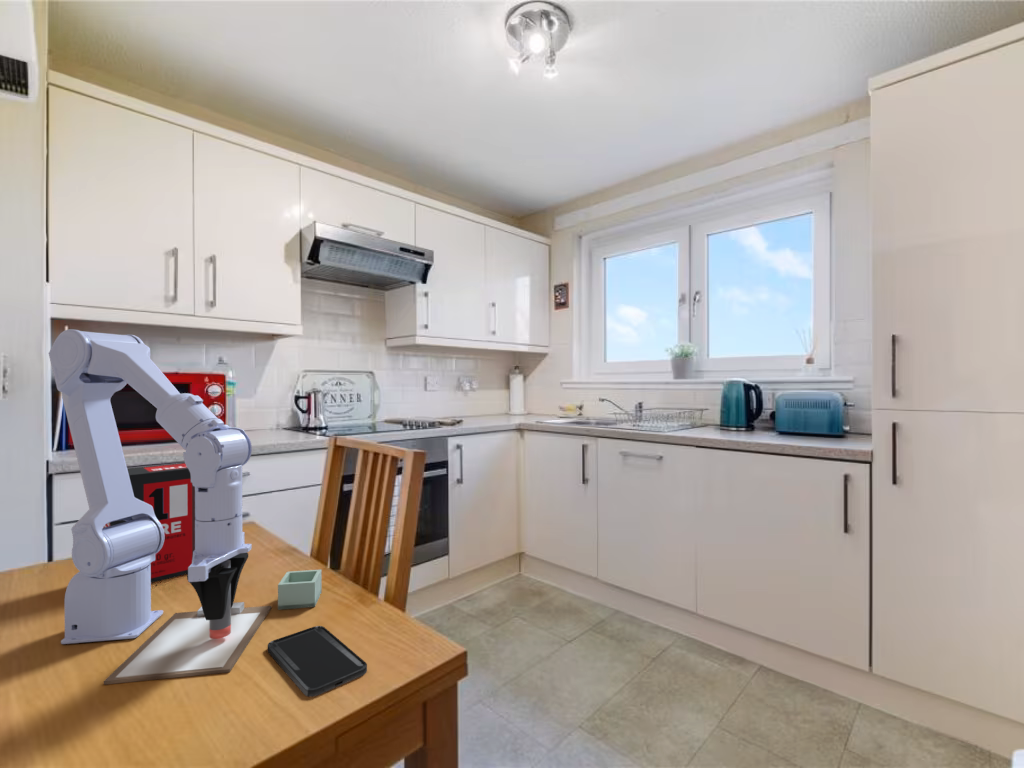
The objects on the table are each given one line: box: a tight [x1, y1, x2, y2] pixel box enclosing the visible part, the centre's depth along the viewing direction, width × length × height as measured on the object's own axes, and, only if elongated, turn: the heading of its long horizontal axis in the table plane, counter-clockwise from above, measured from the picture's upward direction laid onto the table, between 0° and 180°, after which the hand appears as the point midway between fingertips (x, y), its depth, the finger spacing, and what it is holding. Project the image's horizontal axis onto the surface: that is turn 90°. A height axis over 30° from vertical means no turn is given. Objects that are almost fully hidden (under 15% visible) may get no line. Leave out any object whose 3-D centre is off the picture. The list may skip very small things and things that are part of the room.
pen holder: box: [277, 568, 323, 610], centre depth 83 cm, size 6×6×4 cm
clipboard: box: [103, 601, 272, 685], centre depth 70 cm, size 14×18×1 cm
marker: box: [209, 560, 231, 639], centre depth 70 cm, size 3×3×10 cm
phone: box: [267, 625, 368, 698], centre depth 66 cm, size 8×1×15 cm
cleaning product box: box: [103, 462, 195, 584], centre depth 95 cm, size 16×9×20 cm, turn 136°
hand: (219, 613), depth 70 cm, fingers closed on marker, 3 cm apart
